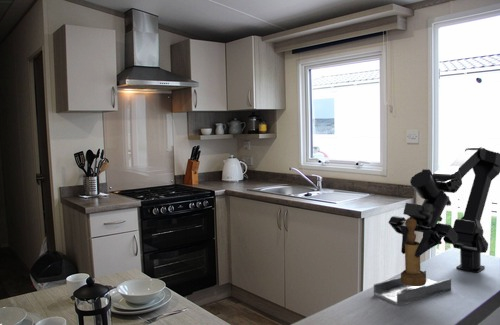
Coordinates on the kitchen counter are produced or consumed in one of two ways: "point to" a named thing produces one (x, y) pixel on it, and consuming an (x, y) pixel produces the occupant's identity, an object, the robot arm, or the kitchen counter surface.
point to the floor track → (409, 290)
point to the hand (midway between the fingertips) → (409, 254)
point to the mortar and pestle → (412, 258)
